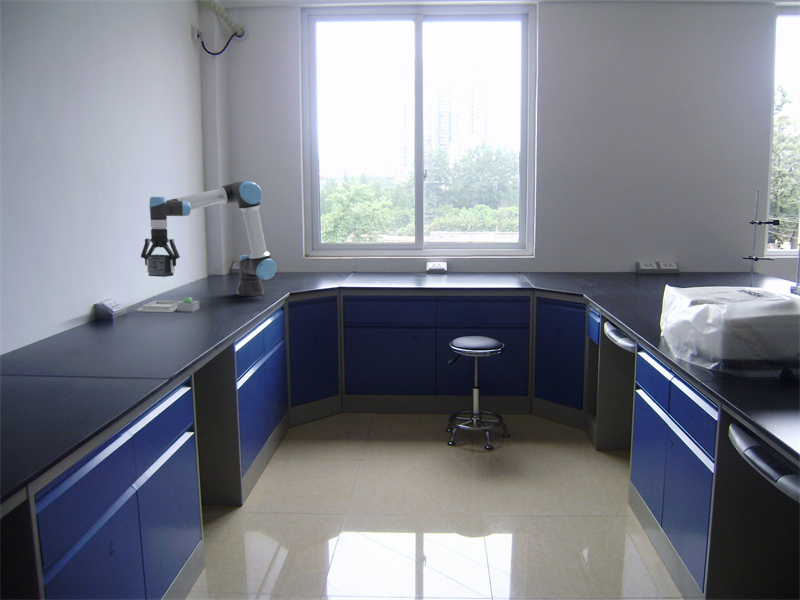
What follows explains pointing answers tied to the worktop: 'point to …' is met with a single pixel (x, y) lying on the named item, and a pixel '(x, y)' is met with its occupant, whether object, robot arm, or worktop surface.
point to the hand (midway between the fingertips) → (161, 272)
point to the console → (188, 306)
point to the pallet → (160, 306)
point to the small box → (159, 265)
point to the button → (188, 300)
